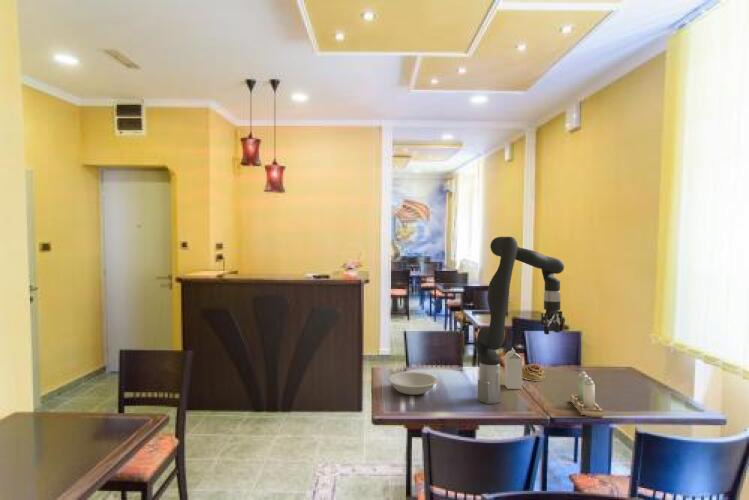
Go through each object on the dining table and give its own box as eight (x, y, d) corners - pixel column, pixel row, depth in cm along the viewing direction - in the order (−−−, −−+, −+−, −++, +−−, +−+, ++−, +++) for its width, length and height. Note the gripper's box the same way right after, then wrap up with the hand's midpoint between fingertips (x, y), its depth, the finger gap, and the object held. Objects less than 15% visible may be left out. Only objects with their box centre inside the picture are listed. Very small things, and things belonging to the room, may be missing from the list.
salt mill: (591, 410, 187) (591, 379, 187) (581, 406, 191) (581, 376, 190) (596, 407, 190) (596, 377, 189) (586, 404, 193) (586, 375, 193)
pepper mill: (585, 402, 196) (585, 373, 195) (575, 399, 199) (576, 371, 199) (590, 400, 198) (590, 372, 198) (580, 398, 202) (581, 369, 202)
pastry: (531, 382, 232) (531, 367, 232) (513, 374, 246) (513, 360, 246) (552, 380, 236) (552, 365, 236) (533, 372, 250) (533, 358, 250)
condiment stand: (602, 417, 185) (602, 410, 185) (582, 416, 186) (582, 408, 186) (589, 402, 203) (589, 395, 203) (570, 401, 204) (570, 394, 204)
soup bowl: (435, 402, 201) (435, 388, 201) (383, 399, 206) (383, 384, 206) (439, 386, 225) (439, 373, 225) (391, 383, 230) (392, 370, 230)
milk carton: (518, 385, 227) (519, 347, 227) (522, 389, 220) (522, 351, 220) (504, 384, 228) (504, 347, 228) (507, 389, 221) (507, 350, 221)
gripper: (550, 301, 211) (550, 336, 211) (567, 299, 220) (567, 332, 220) (536, 300, 217) (536, 333, 218) (553, 298, 226) (553, 330, 226)
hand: (551, 333), depth 219 cm, fingers open, 8 cm apart
